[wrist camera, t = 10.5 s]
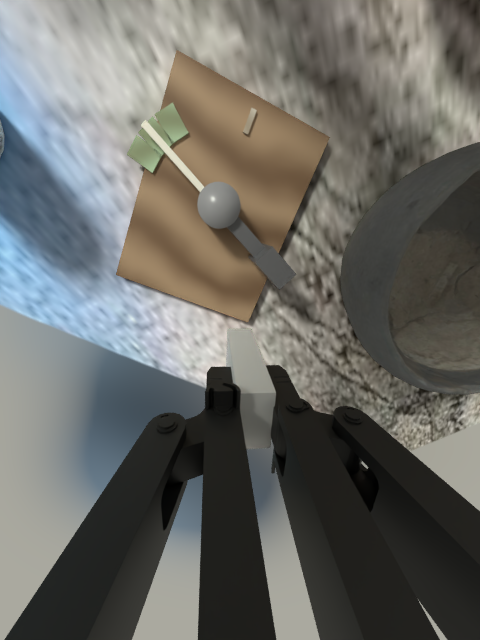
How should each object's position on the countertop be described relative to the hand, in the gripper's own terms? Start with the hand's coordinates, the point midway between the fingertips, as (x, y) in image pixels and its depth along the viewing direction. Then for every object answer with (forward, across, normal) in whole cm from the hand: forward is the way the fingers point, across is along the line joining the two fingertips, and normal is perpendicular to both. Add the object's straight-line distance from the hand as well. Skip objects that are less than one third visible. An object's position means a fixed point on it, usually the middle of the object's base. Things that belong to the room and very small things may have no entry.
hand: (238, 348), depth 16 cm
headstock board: (+20, -1, +9) cm, 22 cm away
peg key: (+19, -1, +9) cm, 21 cm away
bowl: (+20, +24, +3) cm, 32 cm away
